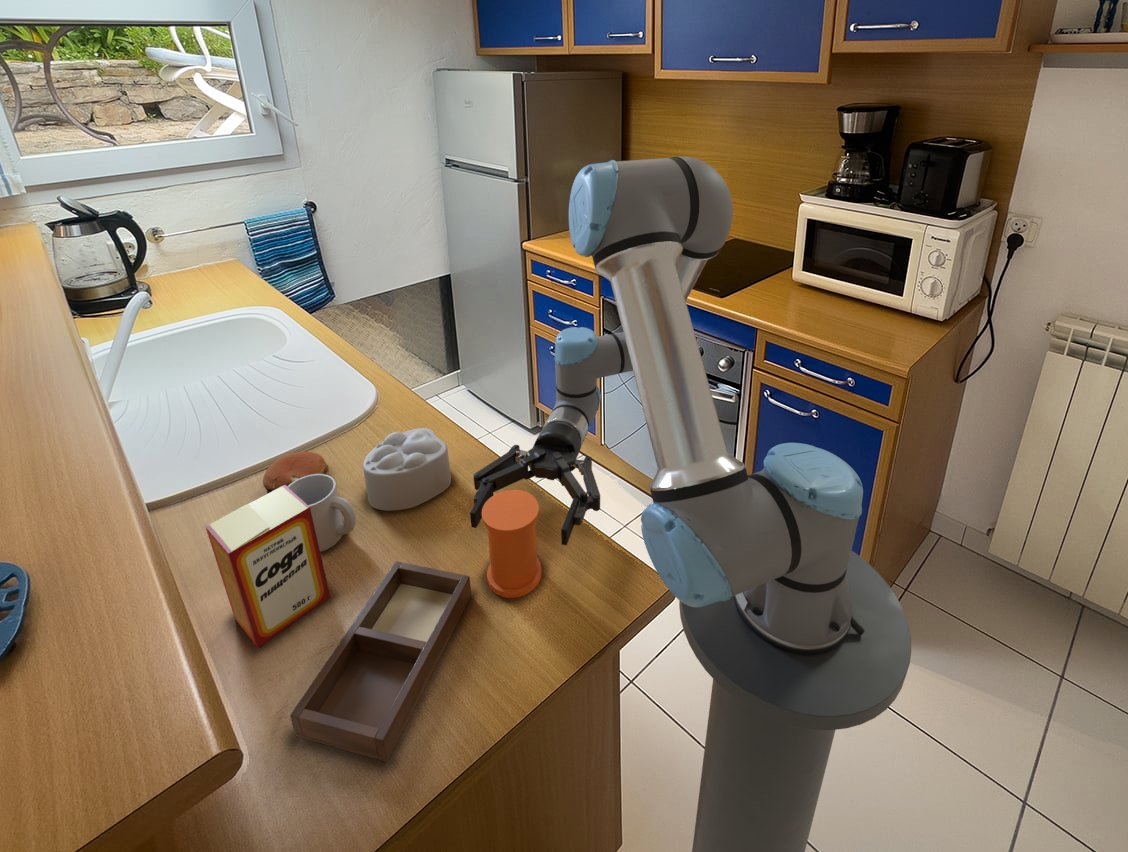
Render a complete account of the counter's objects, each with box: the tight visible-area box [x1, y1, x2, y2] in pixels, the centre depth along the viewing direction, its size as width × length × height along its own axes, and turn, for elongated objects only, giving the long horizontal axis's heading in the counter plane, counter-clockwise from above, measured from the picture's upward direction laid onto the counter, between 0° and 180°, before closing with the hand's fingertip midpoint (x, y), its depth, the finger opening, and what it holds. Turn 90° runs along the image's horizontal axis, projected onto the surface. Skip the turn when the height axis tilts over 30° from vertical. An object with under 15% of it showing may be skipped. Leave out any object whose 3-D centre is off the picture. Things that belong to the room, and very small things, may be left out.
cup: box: [287, 474, 357, 553], centre depth 89 cm, size 7×10×9 cm
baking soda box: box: [205, 485, 331, 649], centre depth 76 cm, size 10×6×16 cm
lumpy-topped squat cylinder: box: [362, 427, 452, 512], centre depth 99 cm, size 10×13×9 cm
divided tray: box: [289, 560, 472, 763], centre depth 72 cm, size 11×21×4 cm, turn 167°
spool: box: [481, 489, 542, 599], centre depth 82 cm, size 8×8×12 cm
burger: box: [262, 451, 330, 494], centre depth 100 cm, size 10×9×5 cm
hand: (517, 529), depth 84 cm, fingers open, 13 cm apart
